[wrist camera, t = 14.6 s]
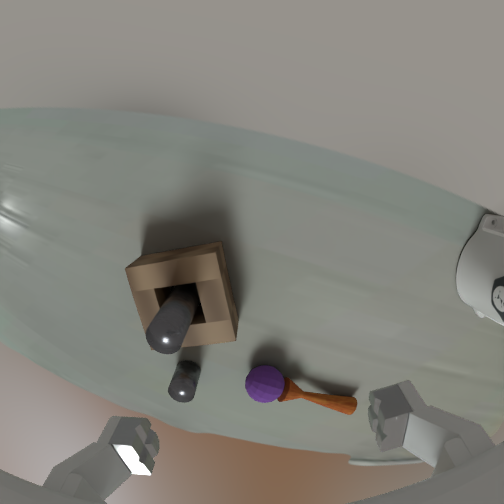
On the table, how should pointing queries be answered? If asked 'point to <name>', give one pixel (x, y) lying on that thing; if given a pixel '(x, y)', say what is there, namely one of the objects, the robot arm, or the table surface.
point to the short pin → (184, 381)
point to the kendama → (290, 390)
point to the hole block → (182, 272)
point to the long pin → (173, 319)
